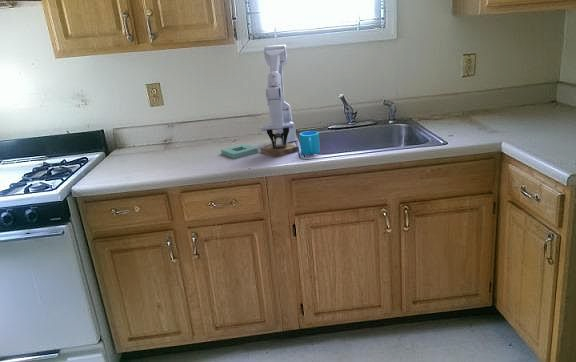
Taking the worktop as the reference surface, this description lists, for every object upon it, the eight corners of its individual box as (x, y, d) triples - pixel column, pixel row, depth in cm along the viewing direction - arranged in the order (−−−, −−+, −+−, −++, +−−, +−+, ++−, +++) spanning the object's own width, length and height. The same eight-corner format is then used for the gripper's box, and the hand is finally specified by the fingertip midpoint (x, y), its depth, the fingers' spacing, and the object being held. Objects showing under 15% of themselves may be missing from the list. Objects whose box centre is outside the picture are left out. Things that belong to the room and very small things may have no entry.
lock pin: (281, 149, 201) (279, 132, 199) (287, 151, 198) (285, 133, 195) (272, 151, 199) (270, 134, 196) (278, 153, 195) (276, 135, 193)
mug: (301, 150, 198) (299, 131, 195) (319, 148, 197) (318, 130, 195) (301, 157, 186) (299, 138, 184) (320, 156, 186) (319, 137, 183)
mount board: (283, 146, 206) (282, 142, 206) (298, 150, 197) (298, 146, 196) (261, 152, 200) (260, 147, 199) (276, 157, 190) (275, 152, 190)
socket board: (244, 148, 210) (244, 143, 209) (258, 152, 200) (257, 148, 199) (221, 153, 203) (221, 149, 203) (234, 158, 194) (233, 154, 193)
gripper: (259, 118, 189) (263, 149, 193) (294, 115, 190) (296, 146, 194) (259, 115, 195) (262, 145, 200) (292, 112, 196) (294, 142, 201)
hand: (279, 145), depth 197 cm, fingers closed on lock pin, 4 cm apart
